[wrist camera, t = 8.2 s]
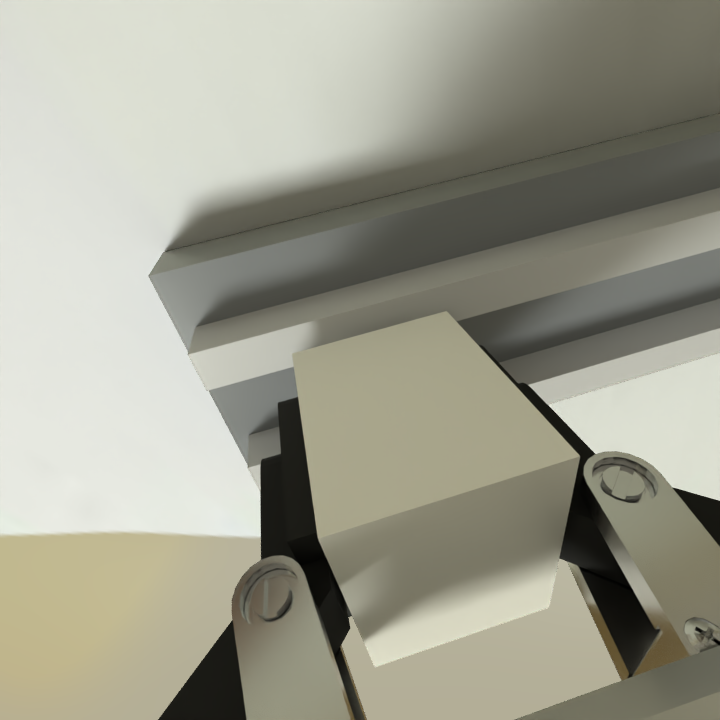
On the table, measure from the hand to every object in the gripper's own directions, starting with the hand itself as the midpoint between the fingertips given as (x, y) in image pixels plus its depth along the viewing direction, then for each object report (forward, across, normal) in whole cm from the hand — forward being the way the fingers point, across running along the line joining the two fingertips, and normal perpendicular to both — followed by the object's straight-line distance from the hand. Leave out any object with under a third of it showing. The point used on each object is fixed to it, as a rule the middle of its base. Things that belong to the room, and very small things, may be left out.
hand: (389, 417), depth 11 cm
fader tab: (+3, 0, 0) cm, 3 cm away
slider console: (+5, -8, 0) cm, 10 cm away
